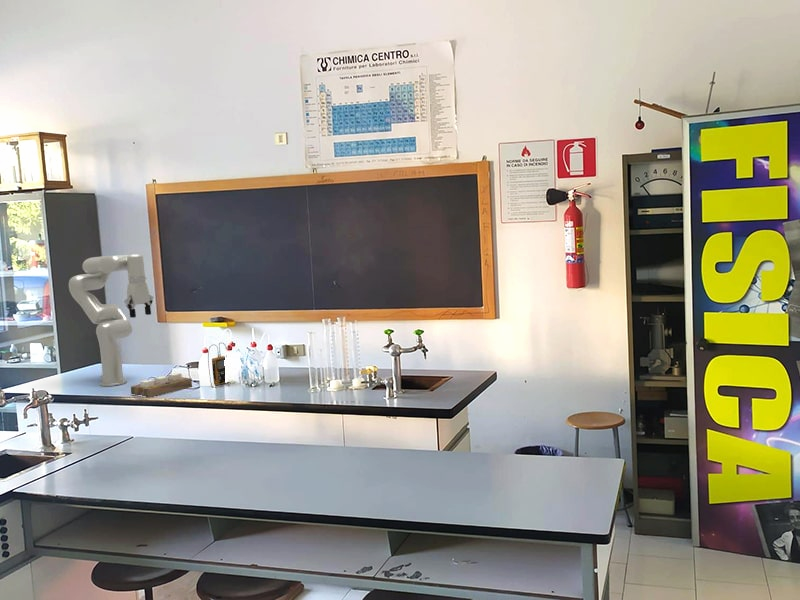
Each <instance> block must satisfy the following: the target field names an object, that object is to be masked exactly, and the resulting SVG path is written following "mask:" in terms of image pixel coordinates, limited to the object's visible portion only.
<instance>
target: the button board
mask: <svg viewBox="0 0 800 600" xmlns="http://www.w3.org/2000/svg"><path fill="white" fill-rule="evenodd" d="M192 387H193V382H192V378H190V377H183V376H182V379H178V380H169V379H168V382H166V383H163V384H157V383H155V381H154V386H151V387H147V388H145V387H140V383H139V384H136V385H135V384H134V385H132V386H130V394H135V395H142V396H146V397H145V398H148V397H152V398H155V397H154V396H156V397H159V396H163V395H166V393H167V394H170V393H174V392H177V390H178V391H181V390H185V389H188V388H192ZM184 388H185V389H184ZM180 389H181V390H180ZM173 391H174V392H173ZM169 392H170V393H169ZM162 394H163V395H162ZM135 395H134V396H135ZM158 395H159V396H158Z"/></svg>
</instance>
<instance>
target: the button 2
mask: <svg viewBox="0 0 800 600" xmlns="http://www.w3.org/2000/svg"><path fill="white" fill-rule="evenodd" d="M167 377H168V379H169V380H178V379H182V377H183V375H182V373H181V372H180V373H178V372H173V373H169V374H167Z"/></svg>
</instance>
